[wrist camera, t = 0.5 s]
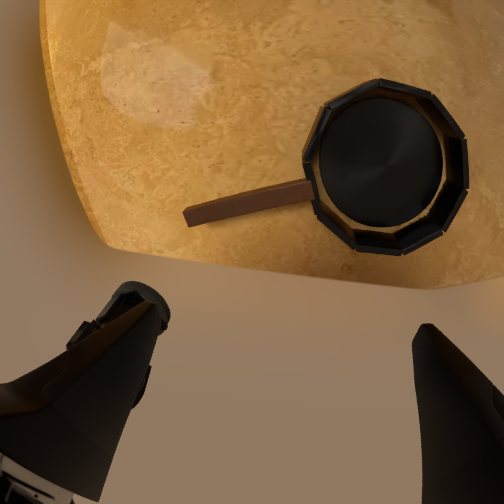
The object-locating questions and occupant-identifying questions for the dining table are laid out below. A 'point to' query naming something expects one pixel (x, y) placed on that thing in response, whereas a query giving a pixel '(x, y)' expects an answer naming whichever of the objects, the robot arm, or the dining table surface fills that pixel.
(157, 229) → the dining table surface
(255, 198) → the frying pan
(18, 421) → the robot arm
